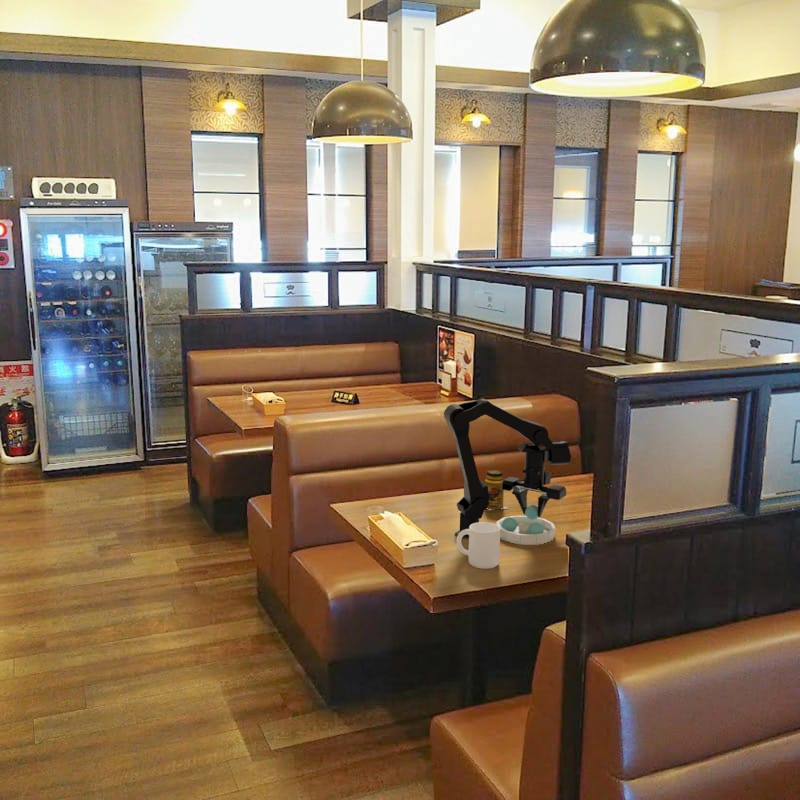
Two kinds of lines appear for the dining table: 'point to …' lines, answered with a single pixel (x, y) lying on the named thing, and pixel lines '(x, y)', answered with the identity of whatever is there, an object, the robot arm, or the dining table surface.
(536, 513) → the bead
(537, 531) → the bead
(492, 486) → the condiment
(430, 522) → the dining table surface
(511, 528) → the bead
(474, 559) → the mug
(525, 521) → the groove tray
